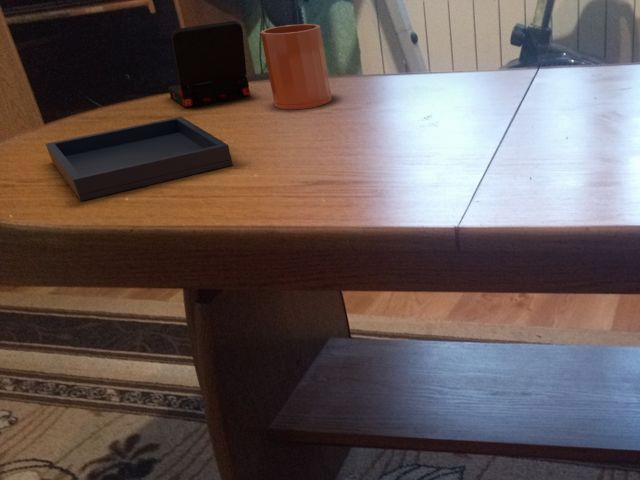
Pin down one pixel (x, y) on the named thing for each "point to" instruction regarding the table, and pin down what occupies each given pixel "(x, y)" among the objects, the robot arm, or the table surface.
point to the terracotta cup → (296, 66)
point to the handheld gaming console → (209, 64)
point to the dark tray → (136, 156)
